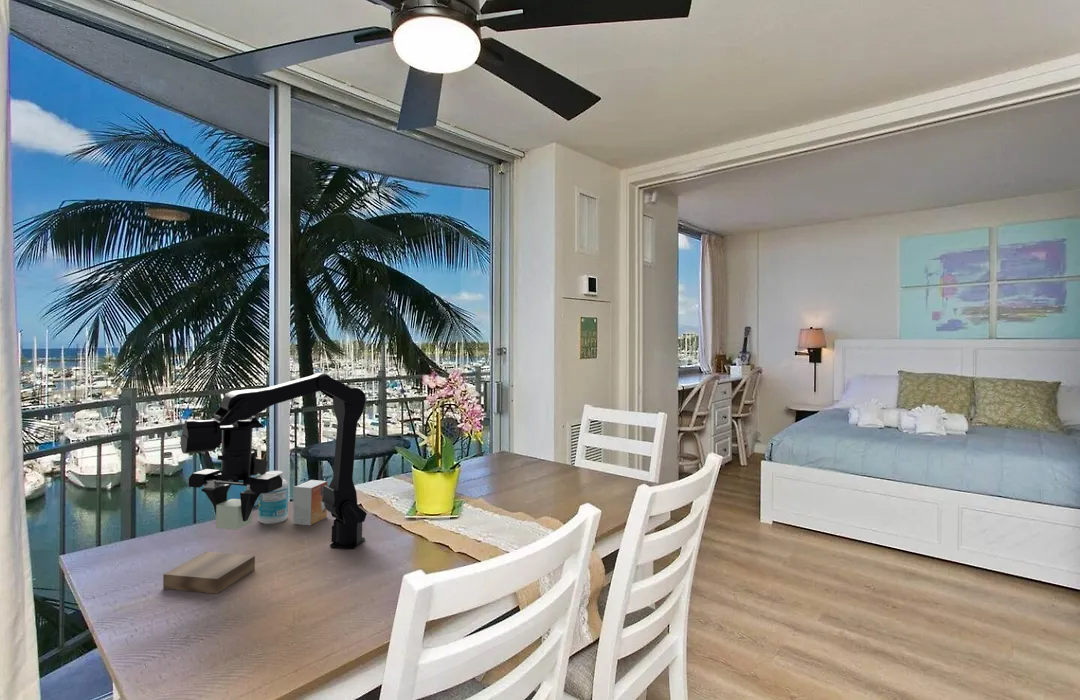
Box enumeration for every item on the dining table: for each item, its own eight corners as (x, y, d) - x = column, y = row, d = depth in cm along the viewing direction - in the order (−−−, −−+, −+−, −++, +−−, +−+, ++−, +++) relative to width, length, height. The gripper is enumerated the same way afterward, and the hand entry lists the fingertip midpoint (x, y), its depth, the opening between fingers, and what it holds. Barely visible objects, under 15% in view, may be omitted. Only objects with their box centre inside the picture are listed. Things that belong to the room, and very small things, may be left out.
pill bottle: (264, 516, 160) (265, 469, 159) (291, 516, 160) (292, 469, 160) (253, 525, 152) (254, 475, 152) (281, 525, 153) (282, 476, 152)
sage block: (251, 522, 124) (252, 500, 124) (237, 530, 119) (237, 506, 119) (231, 520, 125) (232, 498, 125) (215, 527, 120) (216, 504, 120)
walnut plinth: (254, 569, 124) (254, 555, 124) (217, 593, 113) (217, 579, 112) (205, 564, 126) (205, 551, 126) (163, 588, 114) (163, 574, 114)
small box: (310, 526, 152) (311, 488, 152) (292, 524, 153) (293, 486, 153) (327, 517, 160) (328, 480, 160) (310, 515, 161) (310, 479, 161)
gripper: (297, 445, 129) (294, 512, 129) (223, 439, 131) (220, 505, 131) (268, 454, 118) (265, 528, 118) (187, 448, 120) (184, 520, 120)
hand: (234, 519), depth 122 cm, fingers closed on sage block, 5 cm apart
